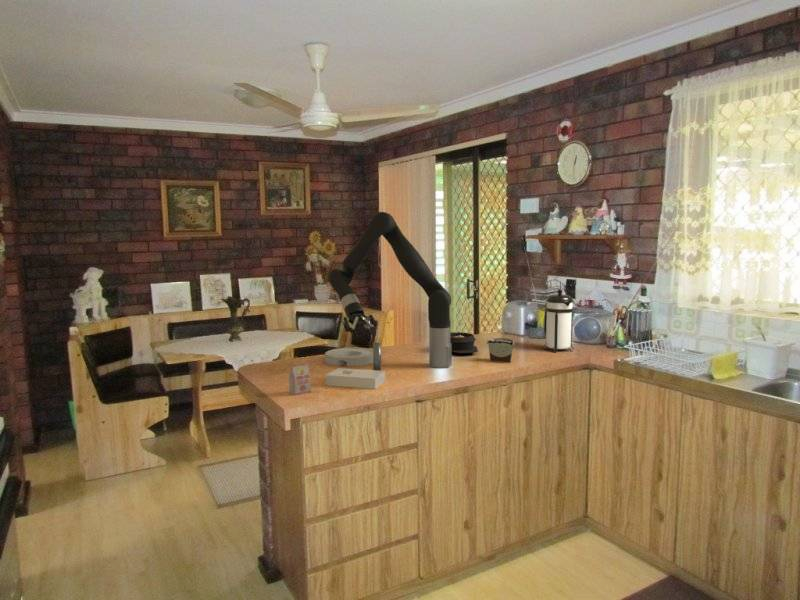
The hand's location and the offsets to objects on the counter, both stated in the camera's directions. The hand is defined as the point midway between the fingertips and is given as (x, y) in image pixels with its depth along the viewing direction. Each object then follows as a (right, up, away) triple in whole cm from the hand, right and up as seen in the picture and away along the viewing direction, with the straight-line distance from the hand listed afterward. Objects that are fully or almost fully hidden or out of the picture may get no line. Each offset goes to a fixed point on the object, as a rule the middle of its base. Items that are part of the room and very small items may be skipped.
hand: (365, 337), depth 237 cm
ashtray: (-8, -13, +25) cm, 30 cm away
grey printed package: (-22, -19, -28) cm, 40 cm away
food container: (+61, -12, +22) cm, 66 cm away
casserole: (+43, -10, +43) cm, 62 cm away
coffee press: (+92, -9, +46) cm, 103 cm away
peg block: (-3, -17, -15) cm, 23 cm away
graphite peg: (+5, -16, -6) cm, 18 cm away
